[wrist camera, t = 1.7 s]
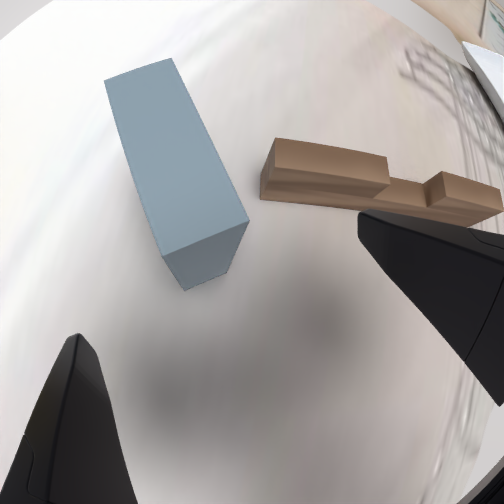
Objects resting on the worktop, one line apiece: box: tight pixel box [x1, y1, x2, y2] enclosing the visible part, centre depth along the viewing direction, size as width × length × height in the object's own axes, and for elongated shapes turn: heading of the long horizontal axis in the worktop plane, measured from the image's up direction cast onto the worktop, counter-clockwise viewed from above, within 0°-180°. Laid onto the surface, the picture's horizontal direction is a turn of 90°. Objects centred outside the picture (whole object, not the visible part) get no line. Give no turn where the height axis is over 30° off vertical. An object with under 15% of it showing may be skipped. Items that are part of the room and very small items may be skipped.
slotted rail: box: [260, 138, 504, 227], centre depth 21 cm, size 2×20×5 cm, turn 88°
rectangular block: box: [104, 58, 250, 291], centre depth 16 cm, size 8×3×11 cm, turn 25°
